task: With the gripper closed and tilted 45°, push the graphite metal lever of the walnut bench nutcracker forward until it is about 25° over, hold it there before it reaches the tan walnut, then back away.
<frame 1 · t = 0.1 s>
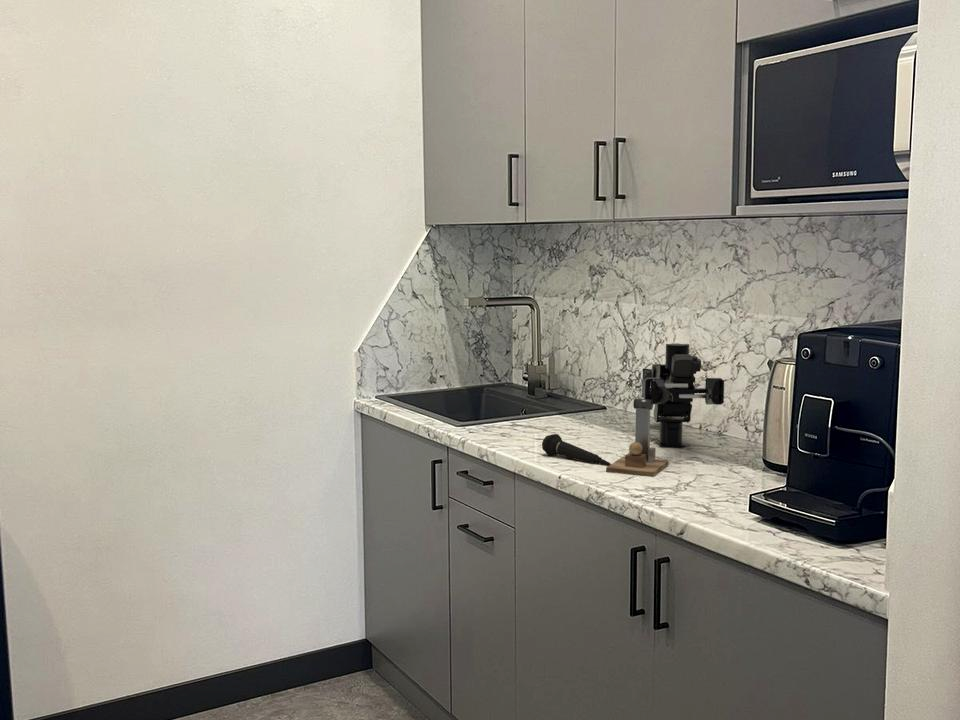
hand: (690, 396, 224), 17 cm above the counter, tool horizontal, fingers open, 9 cm apart
nutcracker base: (637, 468, 225), on the counter
lever: (642, 429, 227), point 9 cm above the counter, hinge at 0.0°
microphone: (573, 461, 234), on the counter
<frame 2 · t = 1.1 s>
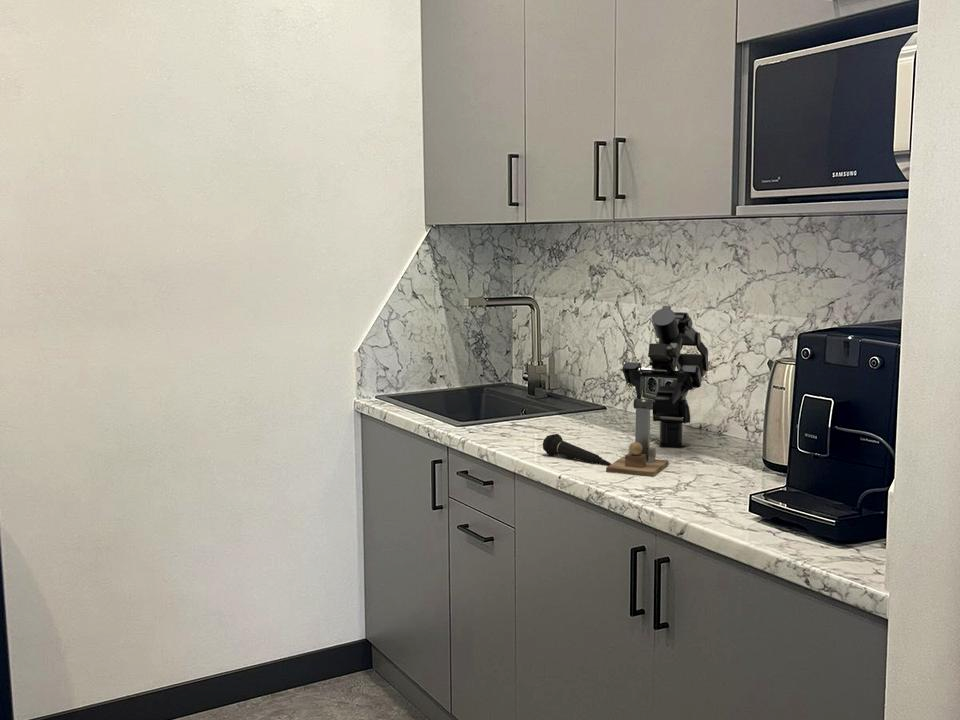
hand: (655, 401, 235), 14 cm above the counter, tool tilted 45°, fingers open, 8 cm apart
nothing on the counter moved.
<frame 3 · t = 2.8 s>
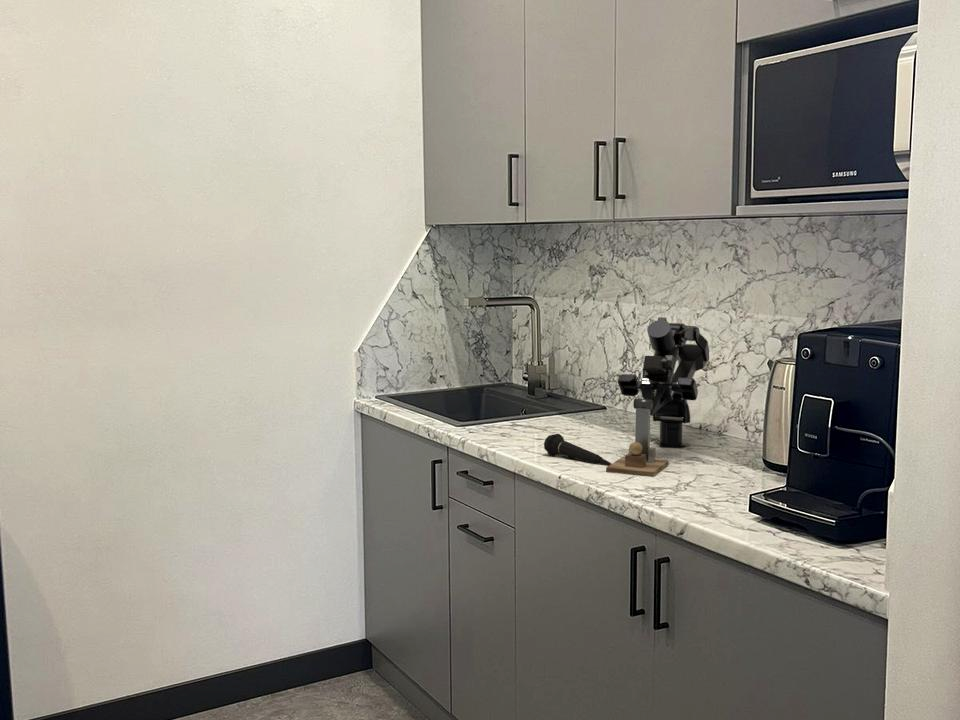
hand: (650, 414, 232), 11 cm above the counter, tool tilted 45°, fingers closed
nothing on the counter moved.
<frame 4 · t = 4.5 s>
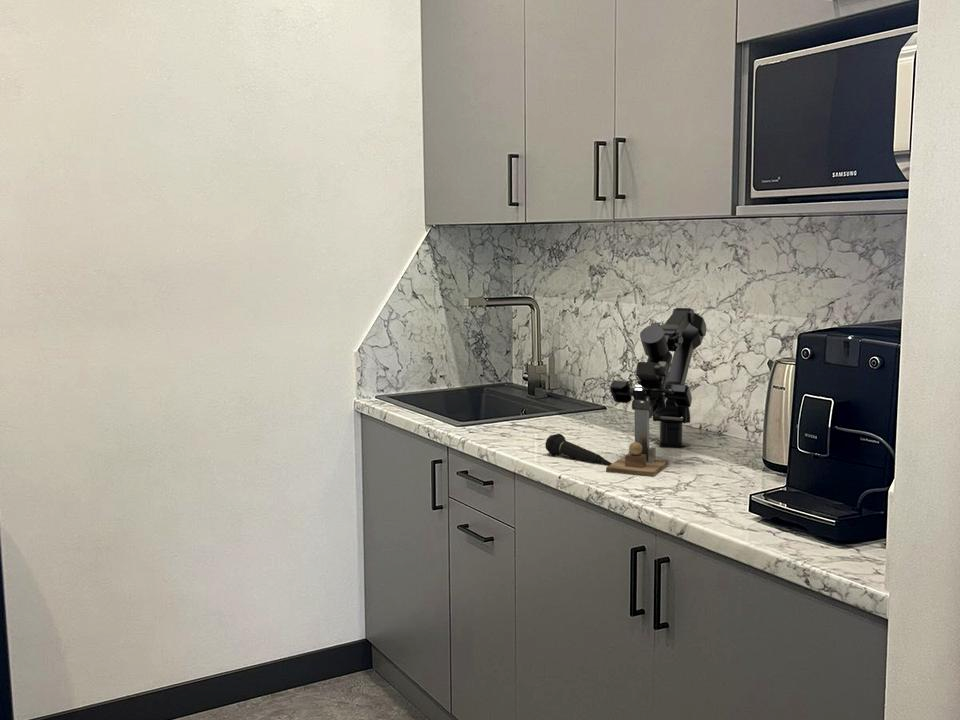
hand: (643, 422, 227), 10 cm above the counter, tool tilted 45°, fingers closed, pressing on lever
lever: (641, 430, 226), point 8 cm above the counter, hinge at 6.1°, touching gripper
everything else where it was.
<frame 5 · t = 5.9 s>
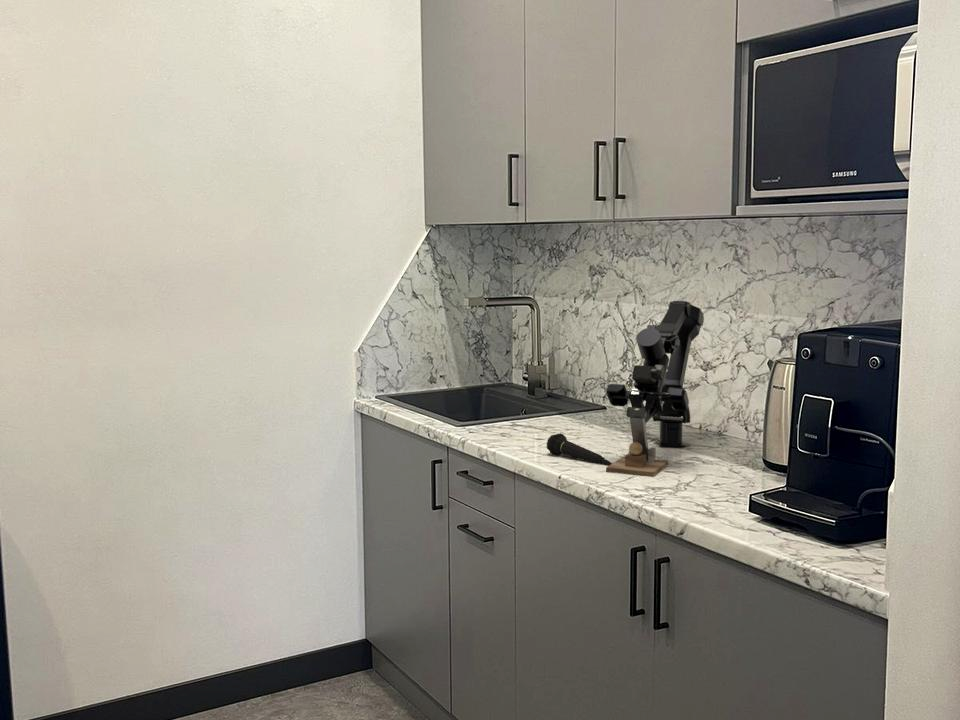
hand: (639, 426, 224), 10 cm above the counter, tool tilted 45°, fingers closed, pressing on lever
lever: (639, 434, 224), point 8 cm above the counter, hinge at 25.2°, touching gripper
everything else where it was.
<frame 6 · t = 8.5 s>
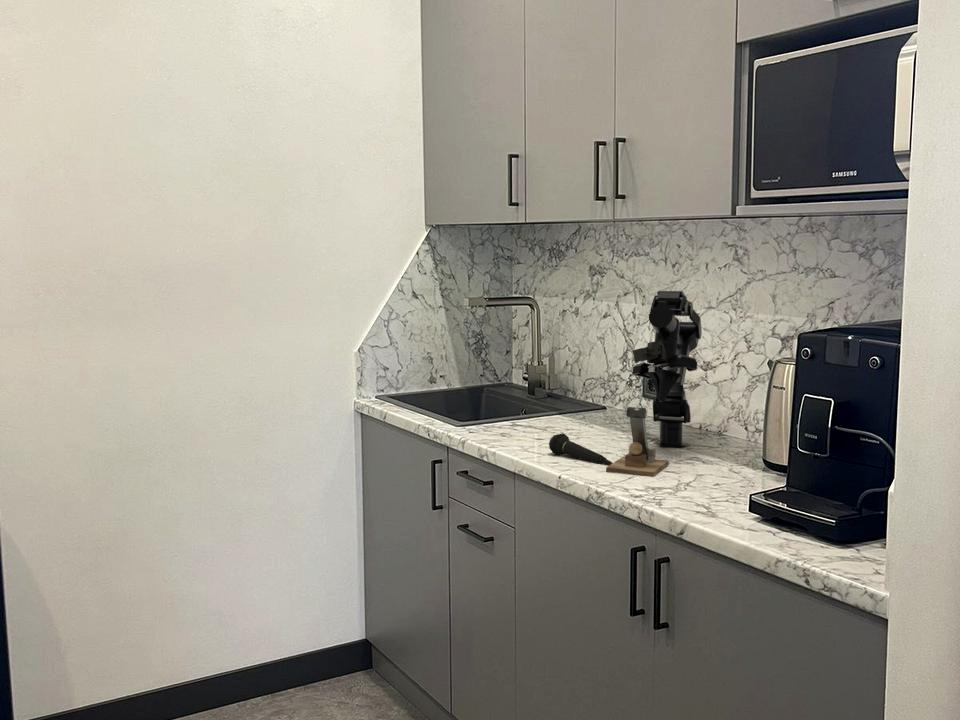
hand: (661, 401, 236), 14 cm above the counter, tool tilted 20°, fingers closed
lever: (639, 434, 224), point 8 cm above the counter, hinge at 25.3°
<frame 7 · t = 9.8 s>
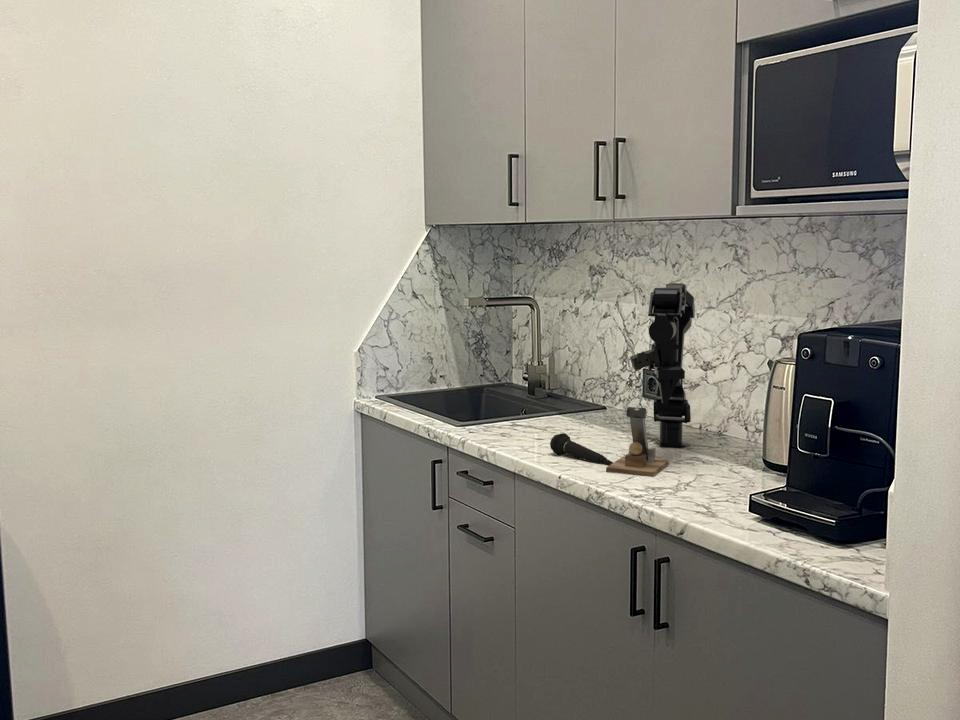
hand: (664, 403, 236), 13 cm above the counter, tool pointing down, fingers closed
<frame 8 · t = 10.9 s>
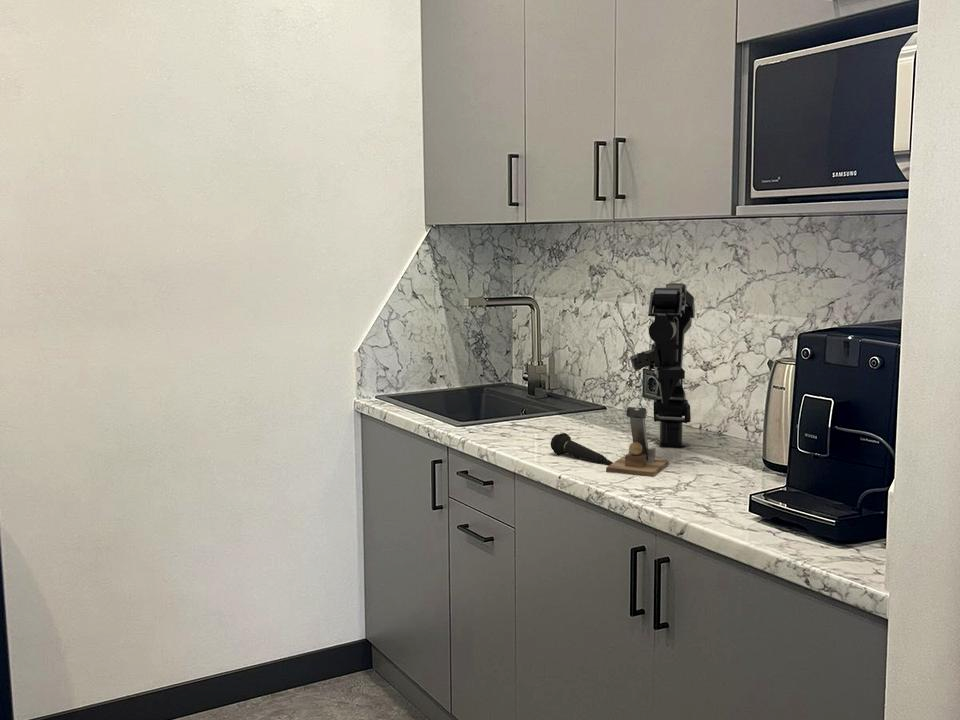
hand: (664, 403, 236), 13 cm above the counter, tool pointing down, fingers closed
at the end: lever at +25° (first picture: +0°); microphone moved 1.6 cm from its start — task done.
